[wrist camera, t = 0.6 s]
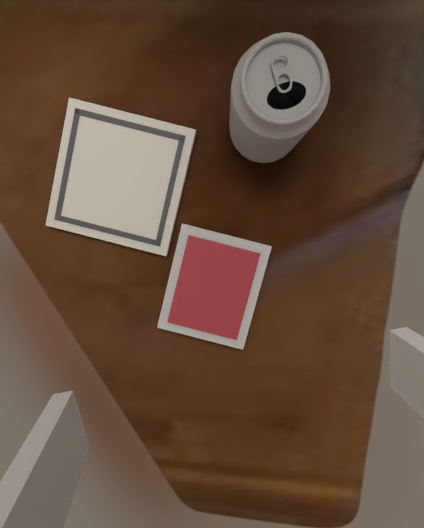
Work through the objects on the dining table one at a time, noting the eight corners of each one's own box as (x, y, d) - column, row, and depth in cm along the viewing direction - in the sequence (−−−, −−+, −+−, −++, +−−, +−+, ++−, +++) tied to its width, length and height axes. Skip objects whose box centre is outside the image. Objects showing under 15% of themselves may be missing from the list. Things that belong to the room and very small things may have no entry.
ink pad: (183, 223, 36) (181, 223, 34) (269, 245, 36) (272, 246, 34) (159, 323, 37) (156, 328, 35) (242, 344, 37) (243, 350, 35)
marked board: (72, 100, 34) (68, 97, 34) (196, 131, 34) (195, 129, 34) (49, 225, 36) (45, 225, 35) (167, 255, 36) (165, 256, 35)
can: (239, 173, 35) (247, 145, 23) (220, 104, 34) (219, 39, 22) (305, 153, 34) (349, 114, 22) (288, 83, 33) (324, 4, 22)
